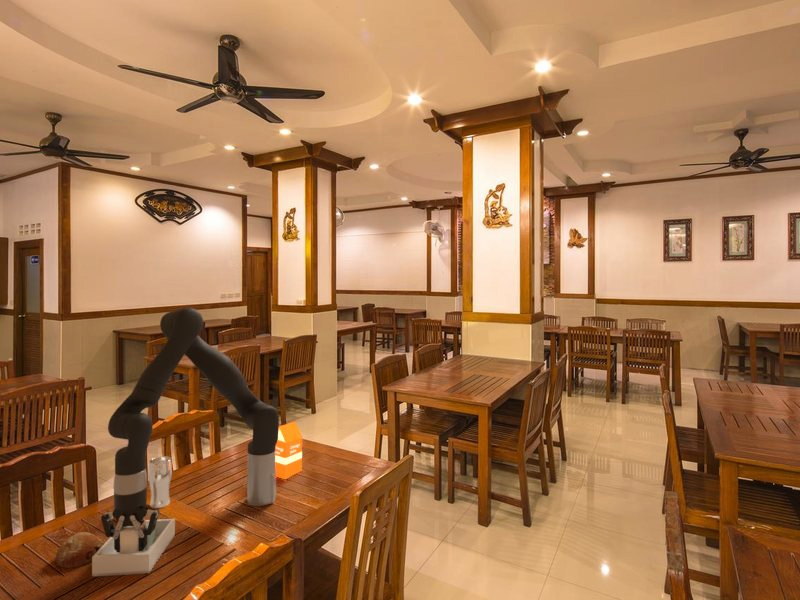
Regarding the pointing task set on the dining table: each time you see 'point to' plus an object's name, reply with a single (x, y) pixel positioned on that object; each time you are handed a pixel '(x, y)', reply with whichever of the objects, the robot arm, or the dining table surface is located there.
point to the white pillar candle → (129, 540)
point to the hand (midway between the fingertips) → (130, 549)
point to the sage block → (150, 538)
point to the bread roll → (78, 550)
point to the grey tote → (133, 554)
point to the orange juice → (288, 451)
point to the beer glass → (159, 481)
